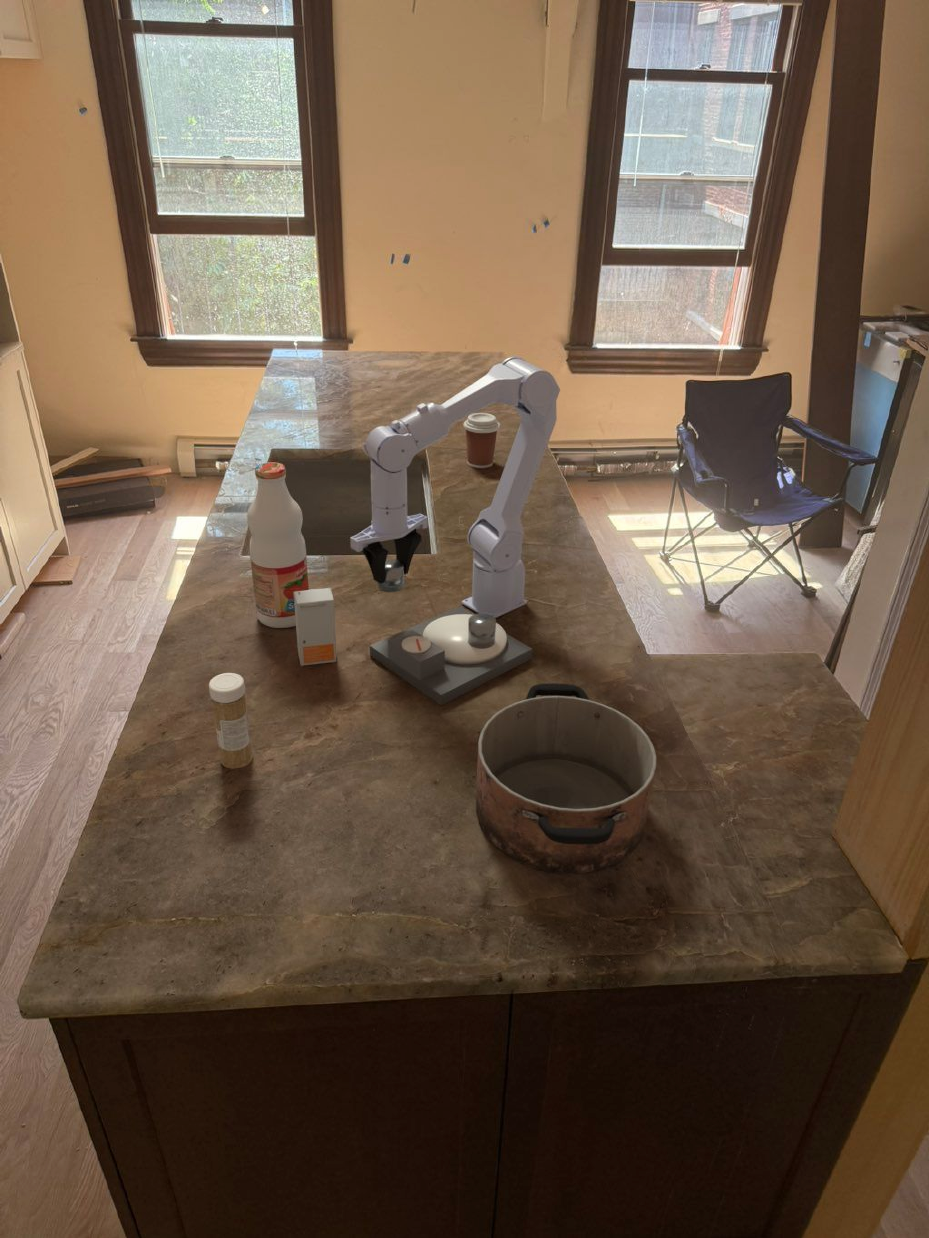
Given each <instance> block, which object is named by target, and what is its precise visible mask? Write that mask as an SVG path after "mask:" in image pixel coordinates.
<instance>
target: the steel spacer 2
mask: <svg viewBox="0 0 929 1238" xmlns="http://www.w3.org/2000/svg"><path fill="white" fill-rule="evenodd" d="M496 623H497V619H496V618H494V617H493V616H491V615H488V614H479V613H476V614H474V615H472V616H471V617H470V618H469V621H468V643H469V645H471V646H472V647H475V648H479V649H485V648H490V647H492V646H493V645H494V644H495V632H496Z"/></svg>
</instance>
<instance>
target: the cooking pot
mask: <svg viewBox="0 0 929 1238" xmlns="http://www.w3.org/2000/svg"><path fill="white" fill-rule="evenodd" d="M477 746H478V747H477V761H476V763H477V765H476V766H477V767H476V782H475V783H476V786H475V811H476V816H477V819H478V823H479V826H480V827H481V829H482V830H483V832H484V835H485V836H486V837H487V838H488V839H489V841H490V842H491V843H493V845H494V846H495V847H496V848H498V849H499V850H500V851H501V852H503V853H504V854H505V855H507V856H508V857H510V858H512V859H513V860H515V861H516V862H519V863H520V864H523V865H526V866H529V867H532V868H534V869H536V870H541V871H545V872H548V873H549V872H550V873H556V874H557V873H559V874H568V875H569V874H583V873H591V872H594V871H599V870H602V869H605V868H606V867H610V866H612V865H615V864H616V863H618V862H620V861H621V860H623V859H625V858H626V857H627V856H629V855H630V853H632V851H633V850H634V849H636V847H637V846H638V844H639V842H640V841H641V839H642V838H643V834H644V830H645V827H646V824H647V819H648V813H649V808H650V802H651V796H652V792H653V788H654V787H653V786H654V781H655V776H656V769H657V754H656V751H655V746H654V744H653V741H651V739H650V737H649V735H648V734H647V733H646V732H645V731H644V730H643V729H642V727H641V726H640V725H639V724H638V723H636V722H635V721H634V720H633V719H632V718H630V717H629V716H627V715H626V714H624V713H622V712H620V711H619V710H617V709H615V708H613V707H610V706H608V705H606V704H603V703H600V702H597V701H594V700H590V698H589V696H588V694H587V692H585V690H584V689H583V688H582V687H581V686H578V685H574V684H569V683H559V682H558V683H557V682H556V683H551V682H550V683H547V682H546V683H538V684H534V685H532V686H531V687H530V689H529V690H528V692H527V694H526V697H525V699H524V700H521V701H516V702H514V703H512V704H510V705H508V706H505V707H503V708H501V709H500V710H499V711H497V712H496V713H495V714H493V715H492V716H491V717H490V718H489V719H488V720H487V721H486V723H485V724H484V726H483V728H482V730H481V731H480V735H479V739H478V743H477Z"/></svg>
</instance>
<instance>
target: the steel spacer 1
mask: <svg viewBox="0 0 929 1238" xmlns="http://www.w3.org/2000/svg"><path fill="white" fill-rule="evenodd" d="M376 584H377V589H379V590H380V591H382V592H385V593H397V592H400V591H402V590H403V589H404V587H405V574H404V563H403V562H402V561H400V560H397V559H396V558H386V563H385V581H384V583H382V584H380V583H378V582H377V581H376Z"/></svg>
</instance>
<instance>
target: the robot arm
mask: <svg viewBox="0 0 929 1238" xmlns="http://www.w3.org/2000/svg"><path fill="white" fill-rule="evenodd" d="M560 393H561V389H560V387H559V385H558V383H557V381H556V379H555V378H554V376H553V374H551V372H549V371H547V370H544V369H541V368H540V367H538V366H535V365H533V364H531V363H530V362H528V361H526V360H525V359H523V358H522V357H519V356H511V357H508V358H506V359H504V360H503V361H502V362H500V363H497V364H494V365H493V366H492V367H491V368H490V370H489V371H488V372H487V373H486V374H485V375H484V376H483V377H481V378H479V379H478V380H476V381H475V382H473V383H472V384H470V385H469V386H467V387H466V388H464V389H462V390H461V391H459V392H458V393H457V394H455V395H454V396H452V397H450V398H449V399H448V400H445V402H443V403H442V404H437V403H435V402H428V403H424V402H422V403H420V404H418V405H417V406H416V410H414V411H413V412H411V413H409V414H407V415H406V416H404V417H402V418H401V419H398V420H397V419H394V420H393V421H391V422H390V424H391V425H390V426H389V425H380V426H377V427H375V428H373V429H371V431H370V433H369V435H367V437H366V439H365V440H366V441H365V443H363V445H362V446H363V449H364V453H365V454H366V455H367V456H368V457H369V459H370V494H371V495H370V496H371V497H370V498H371V501H370V502H371V521H370V523H371V525H369V526H368V527H366V528H365V529H363V530H361V532H358V533H357V534H355V535H353V536H350V540H349V541H350V548H351V550H353V551H355V552H357V553H360V552H362V553H363V555H364V557H365V560H367V563H368V565H369V568H370V571H371V574H372V579H373V581H375V582H376V583H377V582H378V583H380V584H382V583H384V581H385V563H386V559H388V553H389V552H390V551H389V550H387V549H386V548H384V547H383V544H382V543H381V542H384V541H390V540H393V542H394V547H395V554H396V555H395V556H396V557H395V559H397V560H400V561H402V562H403V563H404V575H408V573H409V569H410V566H411V563H412V560H413V556H414V554H415V552H416V550H417V548H418V547H419V545H420V543H421V542H422V534H421V533H418V532H417V530H418V529H421V530H424V529H427V528H428V521H429V519H428V518H429V517H428V516H426V515H424V514H422V513H418V514H413V515H408V475H407V474H408V471H407V470H408V469H407V468H408V467H409V466H410V464H411V463H412V461H413V459H414V457H415V456H416V455H418V453H420V452H421V451H422V450H425V449H426V448H428V447H429V446H432V445H433V444H434V443H437V442H438V441H440V440H442V439H443V438H445V437H447V436H448V435H449V433H450V431H451V430H450V429H451V427H452V425H453V424H455V423H457V422H458V421H461V420H463V419H465V418H466V417H467V418H468V416H469V415H471V414H474V413H478V412H479V411H480V410H482V409H485V408H486V407H489V406H491V405H492V404H495V403H496V404H500V405H501V404H503V405H508V406H512V407H514V409H515V411H516V412H517V415H518V416H519V418H520V425H519V428H518V430H517V433H516V435H515V438H514V441H513V444H512V447H511V449H510V452H509V454H508V457H507V459H506V463H505V465H504V468H503V471H502V474H501V476H500V479H499V482H498V485H497V488H496V490H495V493H494V496H493V498H492V502H491V505H490V506H488V507H486V508H485V509H482V510H481V511H480V512H479V515H478V517H477V519H476V520H475V522H474V523H473V524H472V525H471V526H470V528H469V530H468V532H467V537H466V539H467V543H468V545H469V546H470V548H471V549H472V550H473V552H472V553H473V554H472V556H473V561H472V563H473V564H472V583H471V584H472V587H471V588H472V589H471V596H470V597H468V598H465V599H463V600H462V601H461V604H462V605H464V606H465V607H466V608H469V609H470V610H472V611H474V612H475V613H476V614H488V615H491V616H493V617H494V618H495V619H496V618H500V616H501V617H502V616H503V615H505V614H507V613H510V612H512V611H515V610H516V609H518V608H520V607H523V606H524V605H527V602H528V601H527V600H526V599H525V597H524V596H525V587H526V586H525V585H526V584H525V583H526V568H525V565H524V563H523V560H522V559H521V557H522V554H523V551H522V550H523V549H522V548H523V546H522V543H523V539H524V536H525V531H524V528H523V525H522V520H521V515H522V514H523V511H524V508H525V505H526V503H527V500H528V497H529V495H530V492H531V491H532V490H531V489H532V488H533V487H532V486H533V485H534V481H535V478H536V476H537V473H538V470H539V468H540V466H541V462H542V459H543V458H544V455H545V453H546V449H547V448H548V444H549V442H550V439H551V436H552V434H553V431H554V428H555V425H556V422H557V419H558V418H557V400H558V397H559V394H560ZM378 583H377V584H378Z"/></svg>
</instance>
